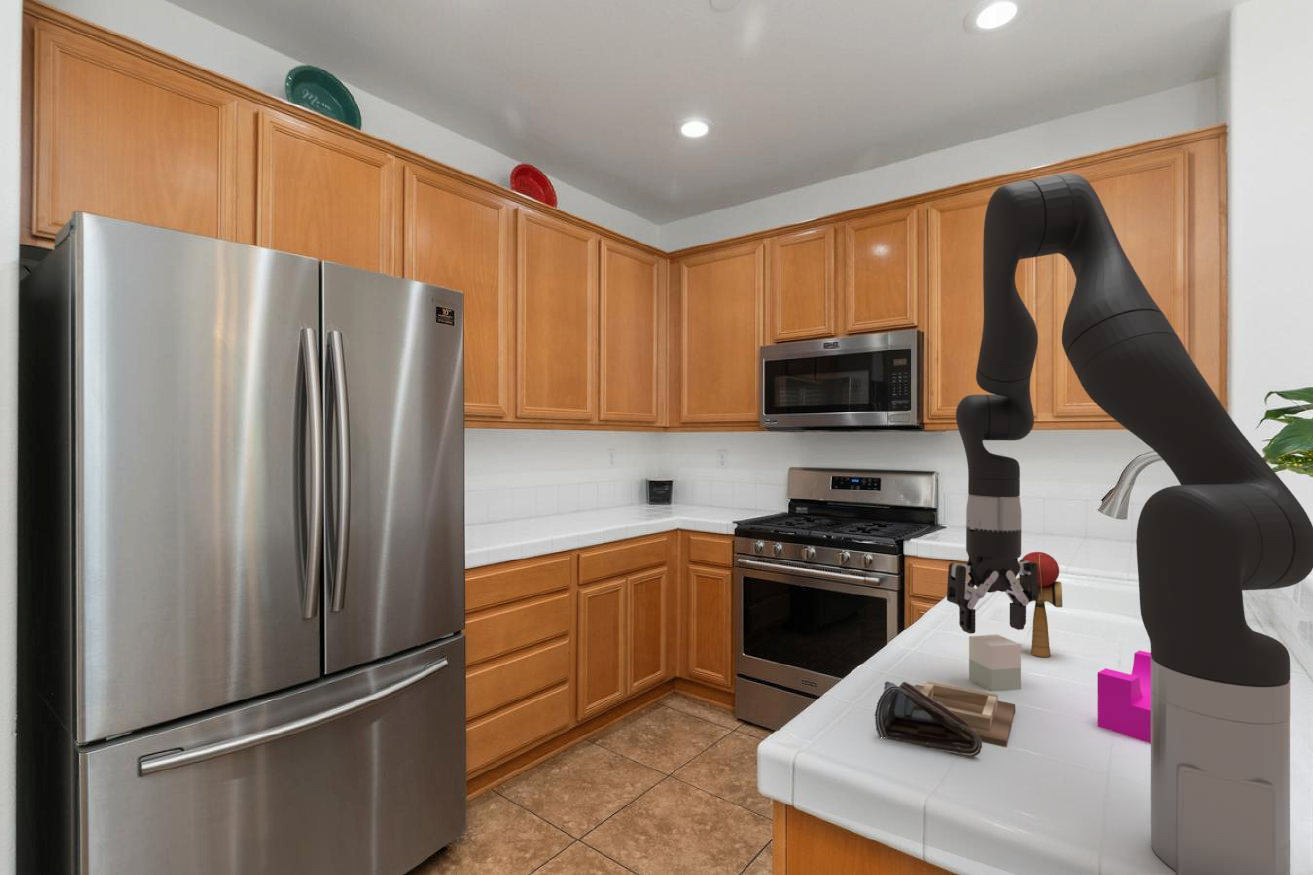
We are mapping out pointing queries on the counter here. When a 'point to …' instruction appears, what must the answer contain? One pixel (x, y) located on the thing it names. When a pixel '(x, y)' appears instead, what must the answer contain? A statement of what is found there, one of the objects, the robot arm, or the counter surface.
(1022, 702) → the counter surface
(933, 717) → the chocolate cake
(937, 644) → the counter surface
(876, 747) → the counter surface
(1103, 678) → the toy block
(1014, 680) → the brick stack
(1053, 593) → the kendama
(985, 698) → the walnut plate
